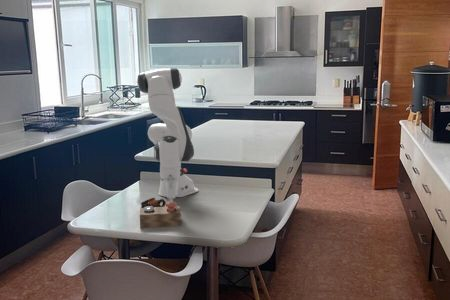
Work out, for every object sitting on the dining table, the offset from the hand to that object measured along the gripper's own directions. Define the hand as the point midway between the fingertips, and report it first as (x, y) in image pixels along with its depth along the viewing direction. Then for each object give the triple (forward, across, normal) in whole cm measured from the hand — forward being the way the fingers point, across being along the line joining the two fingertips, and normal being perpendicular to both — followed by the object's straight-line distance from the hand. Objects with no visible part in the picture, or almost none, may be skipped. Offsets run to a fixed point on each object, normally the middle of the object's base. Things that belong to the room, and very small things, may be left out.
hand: (171, 202), depth 210 cm
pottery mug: (+10, +16, +8) cm, 21 cm away
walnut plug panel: (+9, 0, +5) cm, 11 cm away
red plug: (+7, 0, 0) cm, 7 cm away
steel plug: (+9, 0, +10) cm, 13 cm away
